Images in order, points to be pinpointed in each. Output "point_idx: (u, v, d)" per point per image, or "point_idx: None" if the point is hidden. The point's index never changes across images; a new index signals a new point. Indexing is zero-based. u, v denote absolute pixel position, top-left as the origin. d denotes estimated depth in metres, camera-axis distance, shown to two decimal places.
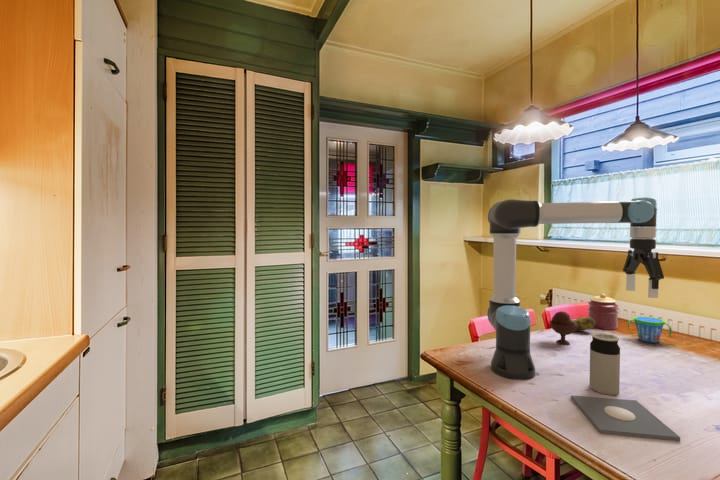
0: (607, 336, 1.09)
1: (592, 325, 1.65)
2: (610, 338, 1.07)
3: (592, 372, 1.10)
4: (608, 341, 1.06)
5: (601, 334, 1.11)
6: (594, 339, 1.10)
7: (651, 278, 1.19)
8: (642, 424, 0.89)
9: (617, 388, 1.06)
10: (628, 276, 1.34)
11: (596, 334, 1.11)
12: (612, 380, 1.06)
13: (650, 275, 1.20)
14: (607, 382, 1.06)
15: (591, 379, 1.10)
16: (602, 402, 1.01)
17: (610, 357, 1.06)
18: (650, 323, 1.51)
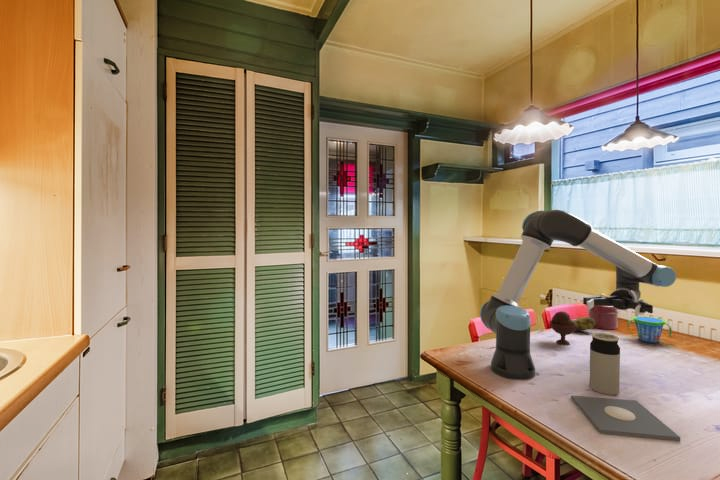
0: (607, 336, 1.09)
1: (592, 325, 1.65)
2: (610, 338, 1.07)
3: (592, 372, 1.10)
4: (608, 341, 1.06)
5: (601, 334, 1.11)
6: (594, 339, 1.10)
7: (645, 304, 1.14)
8: (642, 424, 0.89)
9: (617, 388, 1.06)
10: (593, 300, 1.24)
11: (596, 334, 1.11)
12: (612, 380, 1.06)
13: (641, 304, 1.16)
14: (607, 382, 1.06)
15: (591, 379, 1.10)
16: (602, 402, 1.01)
17: (610, 357, 1.06)
18: (650, 323, 1.51)
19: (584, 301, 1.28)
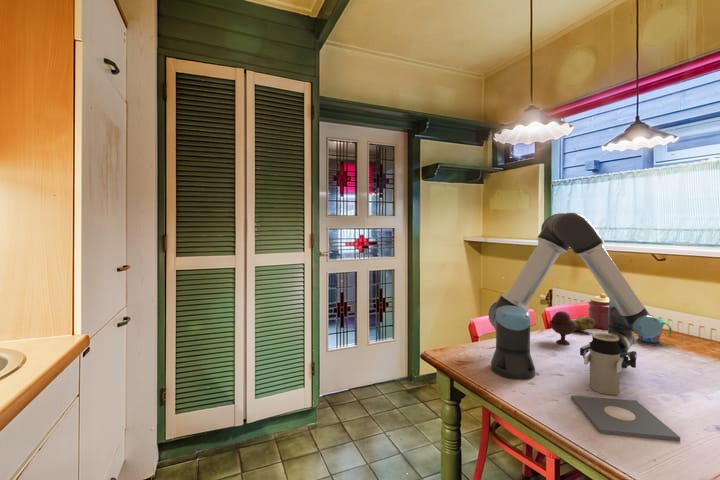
0: (607, 336, 1.09)
1: (592, 325, 1.65)
2: (610, 338, 1.07)
3: (592, 372, 1.10)
4: (608, 341, 1.06)
5: (601, 334, 1.11)
6: (594, 339, 1.10)
7: (627, 358, 1.07)
8: (642, 424, 0.89)
9: (617, 388, 1.06)
10: None
11: (596, 334, 1.11)
12: (612, 380, 1.06)
13: None
14: (607, 382, 1.06)
15: (591, 379, 1.10)
16: (602, 402, 1.01)
17: (610, 357, 1.06)
18: None
19: (582, 352, 1.16)
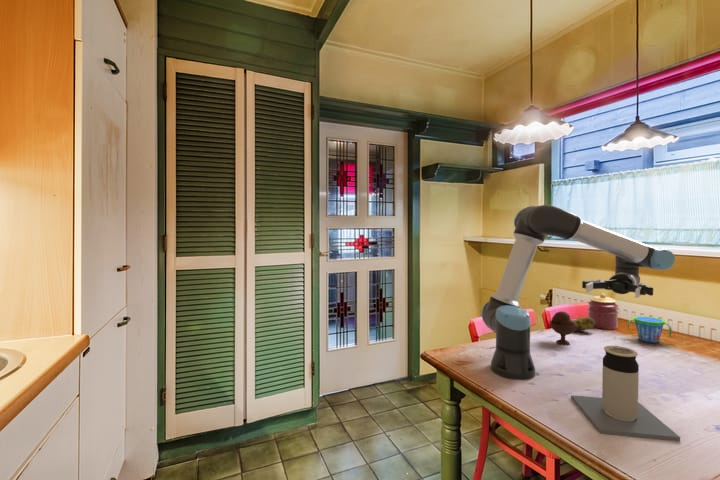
0: (623, 350, 0.93)
1: (592, 325, 1.65)
2: (627, 353, 0.91)
3: (605, 392, 0.94)
4: (625, 356, 0.90)
5: (616, 348, 0.95)
6: (608, 354, 0.94)
7: (645, 286, 1.12)
8: (642, 424, 0.89)
9: (635, 412, 0.91)
10: (592, 283, 1.22)
11: (610, 348, 0.95)
12: (630, 403, 0.90)
13: (641, 286, 1.14)
14: (624, 405, 0.91)
15: (604, 400, 0.95)
16: None
17: (627, 375, 0.90)
18: (650, 323, 1.51)
19: (583, 285, 1.25)
